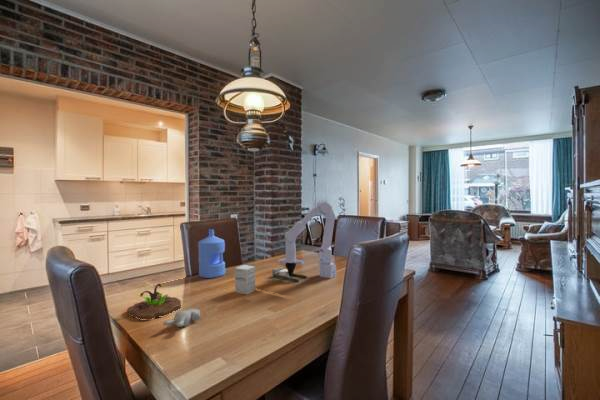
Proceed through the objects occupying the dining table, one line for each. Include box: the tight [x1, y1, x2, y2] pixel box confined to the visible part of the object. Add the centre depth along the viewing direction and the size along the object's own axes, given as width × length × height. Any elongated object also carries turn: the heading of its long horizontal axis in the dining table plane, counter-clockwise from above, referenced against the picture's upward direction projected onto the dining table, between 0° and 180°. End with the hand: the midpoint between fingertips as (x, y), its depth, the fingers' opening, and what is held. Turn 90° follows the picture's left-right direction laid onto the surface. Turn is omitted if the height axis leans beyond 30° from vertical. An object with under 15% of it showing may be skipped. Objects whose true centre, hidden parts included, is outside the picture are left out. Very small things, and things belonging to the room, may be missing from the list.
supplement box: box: [234, 264, 256, 295], centre depth 144 cm, size 7×7×13 cm
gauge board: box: [266, 266, 311, 286], centre depth 161 cm, size 22×13×5 cm, turn 54°
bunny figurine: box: [162, 308, 201, 328], centre depth 109 cm, size 10×5×15 cm
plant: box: [126, 282, 182, 319], centre depth 124 cm, size 20×20×11 cm
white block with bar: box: [274, 268, 289, 277], centre depth 162 cm, size 5×10×4 cm, turn 144°
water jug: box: [197, 228, 227, 279], centre depth 175 cm, size 16×16×28 cm
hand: (291, 276), depth 162 cm, fingers closed
